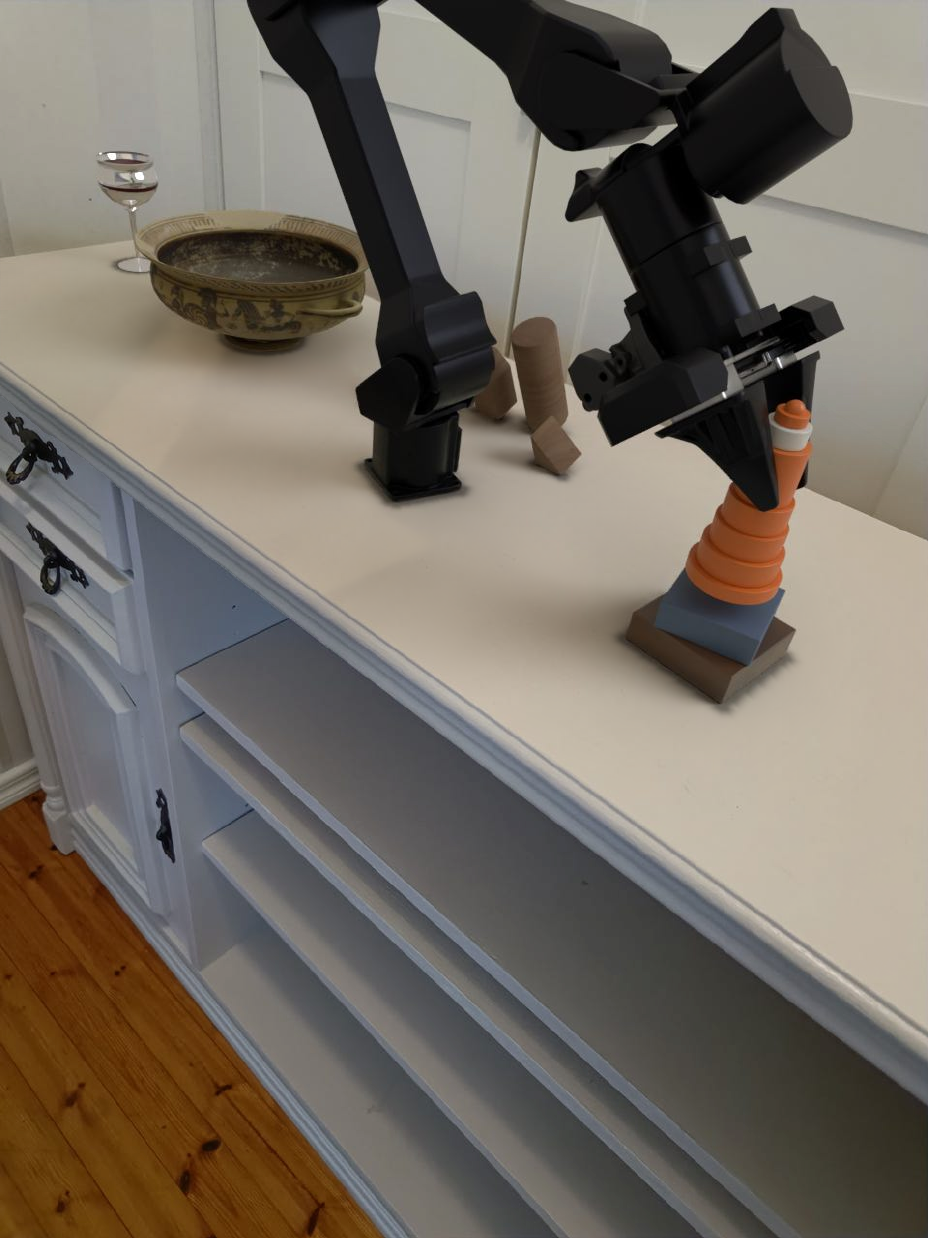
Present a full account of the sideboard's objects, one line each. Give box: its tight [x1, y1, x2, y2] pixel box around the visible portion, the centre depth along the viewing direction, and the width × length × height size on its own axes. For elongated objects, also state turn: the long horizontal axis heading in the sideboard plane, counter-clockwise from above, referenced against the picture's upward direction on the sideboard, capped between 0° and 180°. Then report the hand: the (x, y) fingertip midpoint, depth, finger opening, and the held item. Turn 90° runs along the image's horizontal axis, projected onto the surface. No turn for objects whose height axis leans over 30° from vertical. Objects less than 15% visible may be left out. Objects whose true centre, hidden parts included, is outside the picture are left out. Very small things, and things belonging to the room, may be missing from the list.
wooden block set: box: [474, 316, 582, 476], centre depth 78 cm, size 18×9×10 cm, turn 47°
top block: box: [654, 566, 786, 666], centre depth 57 cm, size 7×7×2 cm
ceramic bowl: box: [135, 209, 370, 352], centre depth 89 cm, size 30×24×10 cm
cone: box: [684, 400, 814, 605], centre depth 51 cm, size 6×6×12 cm
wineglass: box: [93, 150, 159, 273], centre depth 102 cm, size 7×7×12 cm
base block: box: [625, 591, 797, 704], centre depth 58 cm, size 8×8×2 cm
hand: (785, 498), depth 50 cm, fingers closed on cone, 3 cm apart
